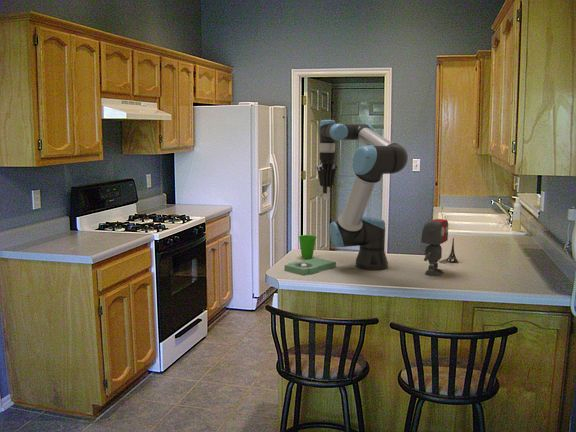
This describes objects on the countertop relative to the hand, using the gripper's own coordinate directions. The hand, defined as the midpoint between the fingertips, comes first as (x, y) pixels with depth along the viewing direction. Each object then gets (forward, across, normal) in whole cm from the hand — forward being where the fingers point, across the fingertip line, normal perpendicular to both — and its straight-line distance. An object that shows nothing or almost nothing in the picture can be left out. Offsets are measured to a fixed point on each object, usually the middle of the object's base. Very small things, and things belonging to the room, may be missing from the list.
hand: (326, 199), depth 280 cm
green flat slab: (+29, +22, +10) cm, 38 cm away
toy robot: (+30, -12, +54) cm, 63 cm away
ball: (+28, +26, +10) cm, 40 cm away
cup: (+30, +7, -6) cm, 31 cm away
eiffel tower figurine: (+30, -39, +48) cm, 69 cm away
